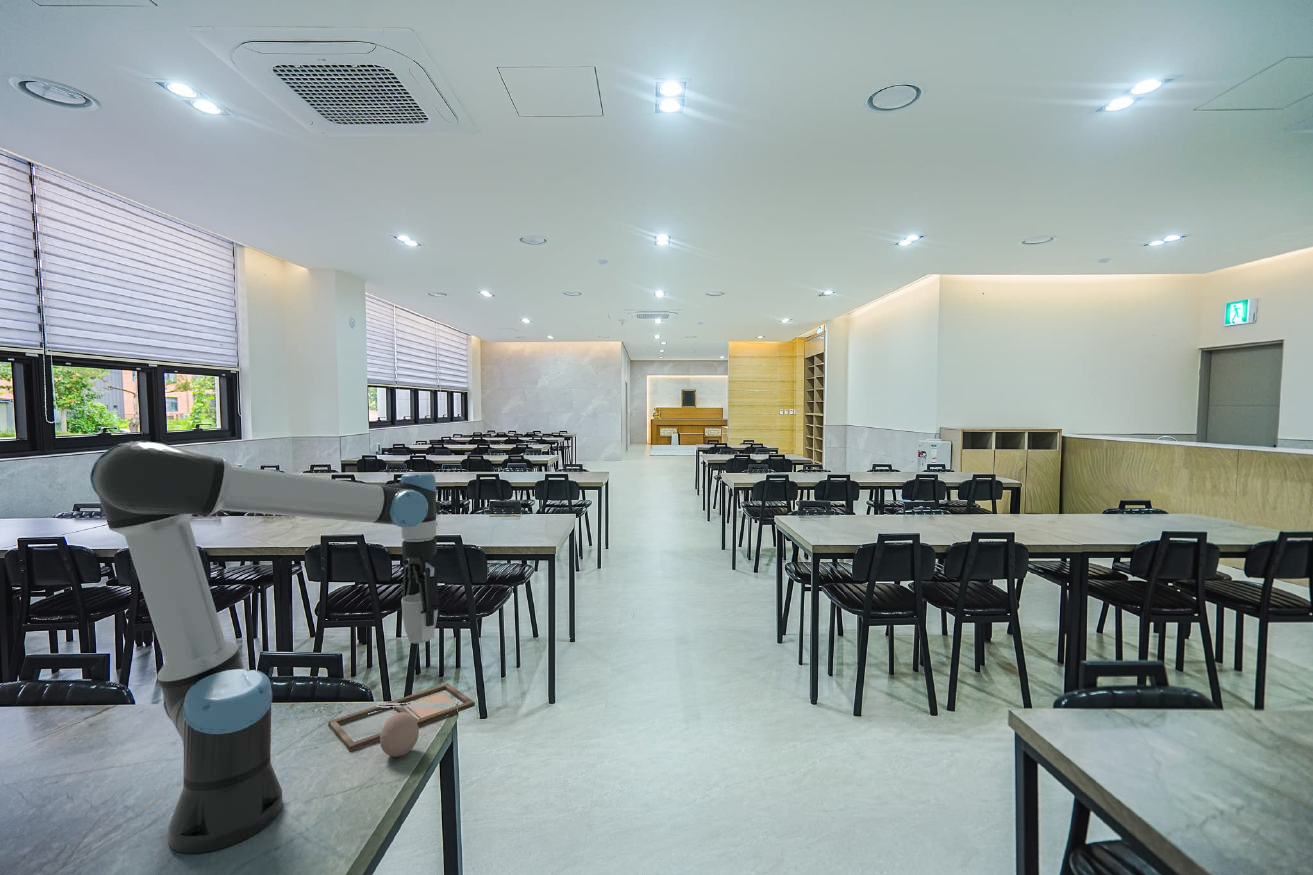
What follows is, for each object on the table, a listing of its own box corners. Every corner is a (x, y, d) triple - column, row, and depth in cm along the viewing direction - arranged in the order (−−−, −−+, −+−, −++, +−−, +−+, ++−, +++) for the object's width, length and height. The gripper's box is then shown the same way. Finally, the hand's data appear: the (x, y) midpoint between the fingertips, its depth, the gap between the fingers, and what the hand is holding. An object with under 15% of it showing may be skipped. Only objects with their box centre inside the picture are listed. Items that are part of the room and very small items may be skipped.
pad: (458, 706, 134) (458, 704, 134) (421, 719, 128) (421, 717, 128) (442, 693, 141) (442, 692, 141) (405, 705, 134) (405, 704, 134)
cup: (446, 637, 134) (445, 595, 133) (415, 648, 127) (415, 604, 127) (425, 630, 138) (424, 590, 138) (394, 641, 131) (394, 599, 131)
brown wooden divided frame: (474, 706, 134) (474, 701, 134) (349, 751, 115) (349, 746, 115) (447, 686, 145) (447, 683, 145) (328, 725, 125) (328, 721, 125)
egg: (417, 760, 112) (417, 719, 112) (377, 767, 109) (378, 725, 109) (419, 742, 118) (419, 703, 118) (382, 748, 116) (382, 708, 116)
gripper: (454, 542, 128) (455, 641, 128) (417, 530, 142) (418, 620, 142) (421, 547, 122) (423, 650, 122) (386, 535, 136) (387, 628, 137)
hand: (420, 634), depth 132 cm, fingers closed on cup, 8 cm apart
